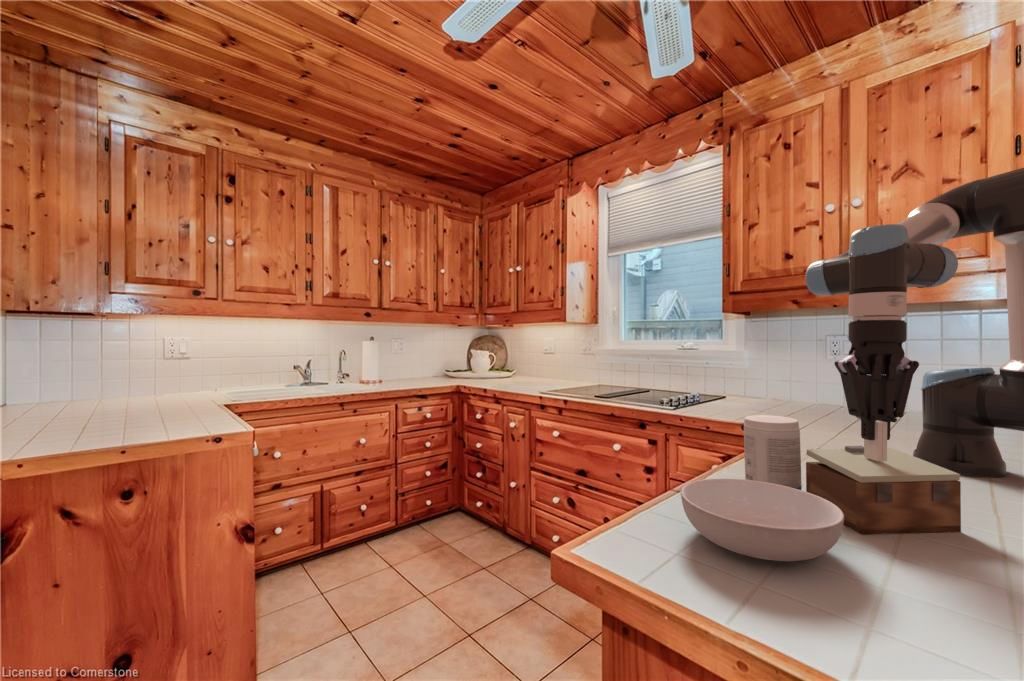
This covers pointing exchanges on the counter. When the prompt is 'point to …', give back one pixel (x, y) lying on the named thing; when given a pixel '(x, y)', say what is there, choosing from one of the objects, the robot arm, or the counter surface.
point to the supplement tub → (772, 450)
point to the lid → (881, 466)
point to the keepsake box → (888, 502)
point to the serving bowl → (762, 518)
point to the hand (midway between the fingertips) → (875, 458)
